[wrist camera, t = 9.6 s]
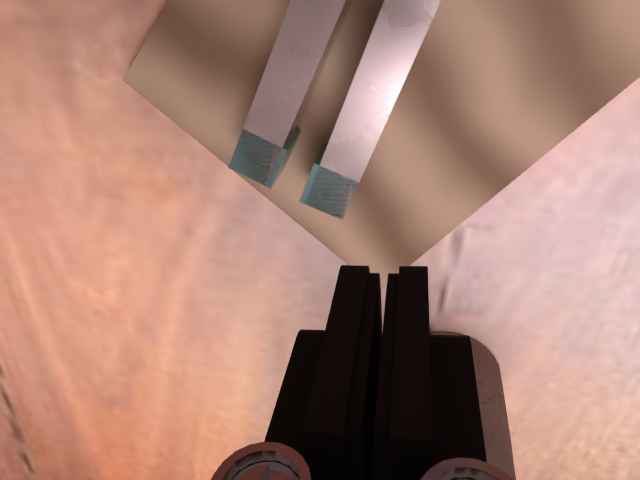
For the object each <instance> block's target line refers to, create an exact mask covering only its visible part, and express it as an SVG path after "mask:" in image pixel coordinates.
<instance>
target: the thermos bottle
mask: <svg viewBox="0 0 640 480" xmlns="http://www.w3.org/2000/svg"><path fill="white" fill-rule="evenodd" d="M430 334H433V335H459V336H463V335H460V334H454V333H448V332H435V333H430ZM470 340H471V346H472V353H473V361H474V368H475V376H476V383H477V391H478V398H479V406H480V413H481V421H482V428H483V436H484V443H485V451H486V458H487V463H489V464H492V465H494V466H496V467H497V468H499V469H500V470H502V471H503V472H505V473H506V474H508V475H509V476H510V477H511V478H512V479H513V480H516V477H515V470H514V463H513V454H512V446H511V439H510V432H509V425H508V419H507V412H506V406H505V399H504V393H503V386H502V380H501V374H500V369H499V365H498V363H497V361H496V359H495V357H494V356H493V355H492V354H491V352H490V351H489V350H488V349H487V348H486V347H484V346H483V345H482V344H481V343H479V342H477V341H475V340H473V339H471V338H470Z"/></svg>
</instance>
